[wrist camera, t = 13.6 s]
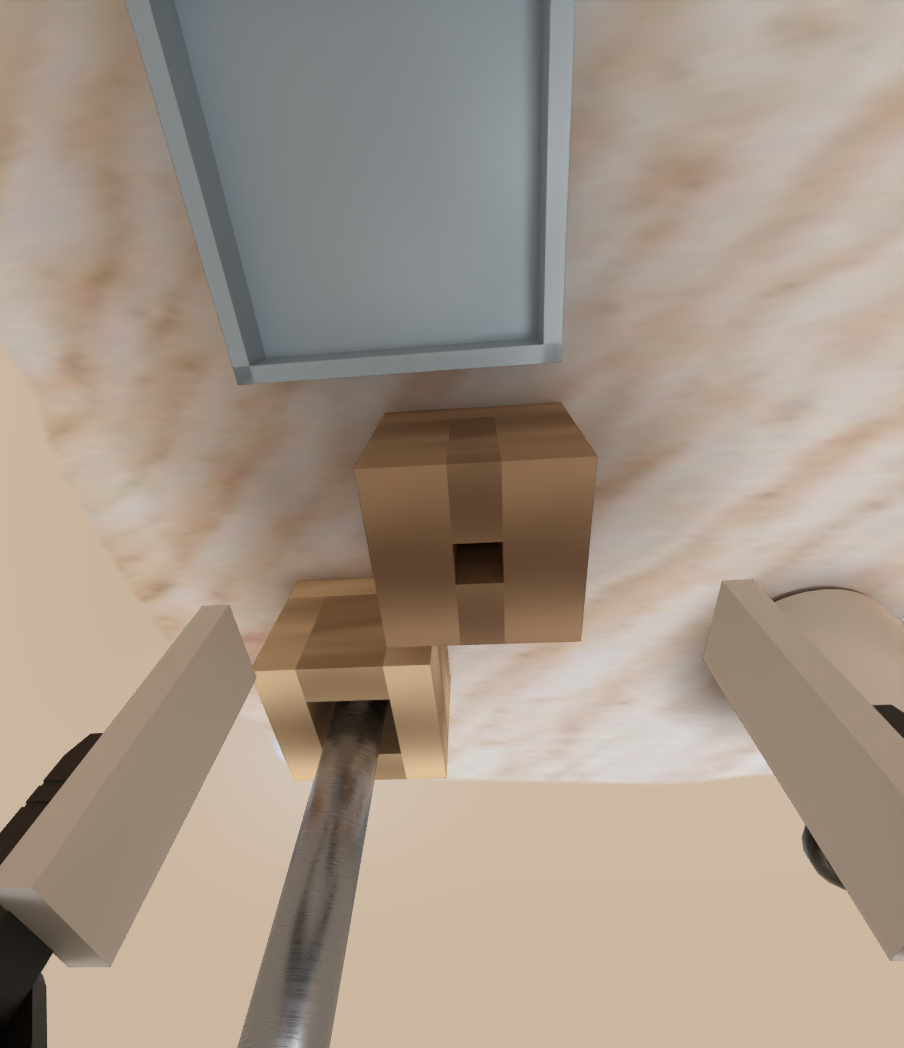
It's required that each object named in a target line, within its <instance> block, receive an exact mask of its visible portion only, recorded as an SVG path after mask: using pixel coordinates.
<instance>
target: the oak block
mask: <svg viewBox="0 0 904 1048" xmlns="http://www.w3.org/2000/svg"><path fill="white" fill-rule="evenodd" d="M253 669H254V672H255V674H256V677H257V678H256V680H255V682H254V684H255V687H256V689H257V691H258V694H259V696H260V699H261V701H262V704H263V706H264V709H265V711H266V714H267V716H268V718H269V721H270V723H271V726H272V728H273V731H274V733H275V736H276V738H277V741H278V743H279V745H280V748H281V750H282V753H283V755H284V758H285V760H286V763H287V765H288V767H289V770H290V772H291V774H292V777H293V780H294V781H314V778H315V774H316V771H317V767H318V764H319V760H320V757H321V753H322V750H323V746H324V743H325V739H326V736H327V732H328V729H329V725H330V722H331V718H332V715H333V711H334V708H335V704H336V701H355V700H386V699H388V703H387V709H386V715H385V721H384V727H383V733H382V739H381V744H380V750H379V756H378V762H377V768H376V774H375V780H382V779H430V778H446V777H447V753H448V729H449V705H450V682H451V675H450V666H449V658H448V649H447V645H446V646H414V647H387V646H386V641H385V635H384V630H383V625H382V619H381V614H380V608H379V603H378V597H377V592H376V587H375V581H374V577H372V578H352V579H332V580H313V581H298V582H297V584H296V586H295V588H294V589H293V591H292V593H291V595H290V597H289V599H288V601H287V602H286V604H285V606H284V608H283V610H282V612H281V614H280V615H279V617H278V619H277V621H276V623H275V625H274V627H273V628H272V630H271V632H270V634H269V636H268V638H267V640H266V641H265V643H264V645H263V647H262V649H261V651H260V653H259V654H258V656H257V658H256V660H255V662H254V664H253Z"/></svg>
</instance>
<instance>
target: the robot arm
mask: <svg viewBox="0 0 904 1048" xmlns="http://www.w3.org/2000/svg"><path fill="white" fill-rule="evenodd" d="M703 661H704V662H705V664H706V666H707V667H708V669H709V670H710V672H711V674H712V675H713V677H714V678H715V680H716V682H717V683H718V685H719V687H720V688H721V690H722V691H723V693H724V695H725V696H726V698H727V699H728V701H729V703H730V704H731V706H732V707H733V709H734V711H735V712H736V714H737V715H738V717H739V719H740V720H741V722H742V723H743V725H744V727H745V728H746V730H747V731H748V733H749V735H750V736H751V738H752V739H753V741H754V743H755V744H756V746H757V748H758V749H759V751H760V752H761V754H762V756H763V757H764V759H765V760H766V762H767V764H768V765H769V767H770V768H771V770H772V772H773V773H774V775H775V776H776V778H777V779H778V781H779V783H780V784H781V786H782V788H783V789H784V791H785V792H786V794H787V796H788V797H789V799H790V800H791V802H792V804H793V805H794V807H795V808H796V810H797V812H798V813H799V815H800V816H801V818H802V820H803V821H804V823H805V825H806V826H807V828H808V829H809V831H810V833H811V834H812V836H813V837H814V839H815V841H816V842H817V844H818V845H819V847H820V849H821V850H822V852H823V853H824V855H825V857H826V858H827V860H828V862H829V863H830V865H831V866H832V868H833V870H834V871H835V873H836V874H837V876H838V878H839V879H840V881H841V882H842V884H843V886H844V887H845V889H846V890H847V892H848V894H849V895H850V897H851V898H852V900H853V902H854V903H855V905H856V906H857V908H858V910H859V911H860V913H861V914H862V916H863V917H864V919H865V921H866V923H867V924H868V926H869V927H870V929H871V931H872V932H873V934H874V935H875V937H876V939H877V940H878V942H879V943H880V945H881V947H882V948H883V950H884V951H885V953H886V955H887V956H888V958H889V959H890V961H904V712H902V711H901V710H899V709H898V708H896V707H895V706H893V705H871V704H870V703H869V702H868V701H867V700H866V699H865V697H864V696H863V695H862V694H861V693H860V692H859V691H858V690H857V689H856V688H855V687H854V686H853V685H852V684H851V683H850V682H849V681H848V680H847V678H846V677H845V676H844V675H843V674H842V673H841V672H840V671H839V670H838V669H837V668H836V667H835V666H834V665H833V664H832V663H831V662H830V661H829V659H828V658H827V657H826V656H825V655H824V654H823V653H822V652H821V651H820V650H819V649H818V648H817V647H816V646H815V645H814V644H813V643H812V642H811V640H810V639H809V638H808V637H807V636H806V635H805V634H804V633H803V632H802V631H801V630H800V629H799V628H798V627H797V626H796V625H795V624H794V623H793V622H792V620H791V619H790V618H789V617H788V616H787V615H786V614H785V613H784V612H783V611H782V610H781V609H780V608H779V607H778V606H777V605H776V604H775V603H774V601H773V600H772V599H771V598H770V597H769V596H768V595H767V594H766V593H765V592H764V591H763V590H762V589H761V588H760V587H759V586H758V585H757V584H756V582H755V581H754V580H753V579H751V580H730V581H722V583H721V587H720V592H719V596H718V600H717V604H716V608H715V612H714V616H713V620H712V624H711V628H710V632H709V636H708V640H707V644H706V648H705V652H704V656H703ZM256 678H257V677H256V674H255V672H254V669H253V666H252V664H251V661H250V658H249V656H248V653H247V650H246V648H245V645H244V643H243V640H242V637H241V635H240V632H239V629H238V627H237V624H236V621H235V619H234V616H233V614H232V611H231V608H230V606H229V605H217V606H202V607H201V608H200V610H199V611H198V612H197V613H196V615H195V616H194V617H193V618H192V620H191V621H190V622H189V624H188V625H187V626H186V627H185V629H184V630H183V631H182V633H181V634H180V635H179V636H178V638H177V639H176V640H175V642H174V643H173V644H172V645H171V647H170V648H169V649H168V651H167V652H166V653H165V654H164V656H163V657H162V658H161V660H160V661H159V662H158V663H157V665H156V666H155V667H154V669H153V670H152V671H151V672H150V674H149V675H148V676H147V678H146V679H145V680H144V682H143V683H142V684H141V685H140V687H139V688H138V689H137V690H136V692H135V693H134V694H133V696H132V697H131V698H130V699H129V701H128V702H127V703H126V705H125V706H124V707H123V709H122V710H121V711H120V712H119V714H118V715H117V716H116V718H115V719H114V720H113V721H112V723H111V724H110V725H109V727H108V728H107V729H106V730H105V732H104V733H98V734H97V733H94V734H90V735H89V736H87V737H86V738H85V739H84V740H82V742H80V743H79V744H77V745H76V746H75V747H74V748H73V749H71V750H70V751H69V752H68V753H67V754H65V755H64V756H63V757H62V759H61V760H60V761H59V762H58V764H57V765H56V766H55V767H54V768H53V770H52V771H51V772H50V773H49V775H48V776H47V777H46V778H45V779H44V783H43V785H42V786H39V787H38V788H37V789H36V790H35V791H34V793H33V794H32V795H31V796H30V797H29V799H28V800H27V801H26V806H25V807H21V808H20V810H19V811H18V812H17V813H16V814H15V816H14V817H13V818H12V819H11V821H10V822H9V823H8V824H7V825H6V827H5V828H4V829H3V830H2V831H1V833H0V1048H47V1010H46V984H45V981H44V978H43V975H42V974H41V971H42V970H43V968H44V966H45V965H46V963H47V961H48V960H49V958H50V956H51V955H52V953H54V954H55V955H56V956H57V957H58V958H59V959H60V960H61V961H62V962H64V963H65V964H66V965H67V966H68V967H111V965H112V963H113V961H114V959H115V957H116V955H117V953H118V951H119V949H120V947H121V945H122V943H123V941H124V939H125V937H126V935H127V933H128V931H129V929H130V927H131V925H132V923H133V921H134V919H135V917H136V915H137V913H138V911H139V909H140V907H141V905H142V903H143V901H144V899H145V897H146V895H147V894H148V892H149V890H150V887H151V885H152V884H153V882H154V880H155V878H156V876H157V873H158V871H159V870H160V868H161V866H162V864H163V862H164V860H165V858H166V856H167V854H168V852H169V850H170V848H171V846H172V844H173V842H174V840H175V838H176V836H177V834H178V832H179V830H180V828H181V826H182V824H183V822H184V820H185V818H186V816H187V814H188V812H189V811H190V809H191V807H192V804H193V803H194V801H195V798H196V797H197V795H198V793H199V791H200V789H201V787H202V785H203V783H204V781H205V779H206V777H207V775H208V773H209V771H210V769H211V767H212V765H213V763H214V761H215V759H216V757H217V755H218V753H219V751H220V749H221V747H222V745H223V743H224V741H225V739H226V737H227V735H228V733H229V731H230V729H231V727H232V725H233V724H234V722H235V719H236V717H237V716H238V714H239V712H240V710H241V708H242V706H243V704H244V702H245V700H246V698H247V696H248V694H249V692H250V690H251V688H252V686H253V684H254V682H255V680H256Z"/></svg>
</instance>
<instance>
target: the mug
mask: <svg viewBox="0 0 904 1048" xmlns="http://www.w3.org/2000/svg"><path fill="white" fill-rule="evenodd" d="M774 603H775V604H776V605H777V606H778V607H779V608H780V609H781V610H782V611H783V612H784V613H785V614H786V615H787V616H788V617H789V618H790V619H791V620H792V622H793V623H794V624H795V625H796V626H797V627H798V628H799V629H800V630H801V631H802V632H803V633H804V634H805V635H806V636H807V637H808V638H809V639H810V640H811V642H812V643H813V644H814V645H815V646H816V647H817V648H818V649H819V650H820V651H821V652H822V653H823V654H824V655H825V656H826V657H827V658H828V659H829V661H830V662H831V663H832V664H833V665H834V666H835V667H836V668H837V669H838V670H839V671H840V672H841V673H842V674H843V675H844V676H845V677H846V678H847V680H848V681H849V682H850V683H851V684H852V685H853V686H854V687H855V688H856V689H857V690H858V691H859V692H860V693H861V694H862V695H863V696H864V697H865V699H866V700H867V701H868V702H869V703H870V704H871V705H893V706H895V707H896V708H898V709H899V710H901V711H902V712H904V623H903V622H901V621H900V620H899V619H898V618H896V617H895V616H894V615H893V614H892V613H890V612H889V611H888V610H887V609H886V608H884V607H883V606H882V605H881V604H879V603H878V602H877V601H875V600H874V599H872V598H871V597H868V596H866V595H863V594H861V593H858V592H853V591H848V590H842V589H823V590H815V591H808V592H803V593H799V594H796V595H792V596H789V597H786V598H783V599H781V600H778V601H776V602H774ZM802 842H803V850H804V852H805V854H806V855H807V857H808V859H809V860H810V862H811V864H812V865H813V866H814V868H815V870H816V871H817V872H818V874H819V875H821V876H822V877H823V878H824V879H825V880H827V881H828V882H829V883H831V884H833V885H836V886H838V887H840V888H842V889H844V890H846V889H845V887H844V886H843V884H842V882H841V881H840V879H839V878H838V876H837V874H836V873H835V871H834V870H833V868H832V866H831V865H830V863H829V862H828V860H827V858H826V857H825V855H824V853H823V852H822V850H821V849H820V847H819V845H818V844H817V842H816V841H815V839H814V837H813V836H812V834H811V833H810V831H809V829H808V828H807V826H806V825H805V828H804V831H803V835H802Z"/></svg>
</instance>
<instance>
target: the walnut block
mask: <svg viewBox="0 0 904 1048" xmlns="http://www.w3.org/2000/svg"><path fill="white" fill-rule="evenodd" d="M596 466H597V455H596V454H595V452H594V451H593V449H592V448H591V446H590V445H589V443H588V442H587V440H586V439H585V437H584V436H583V434H582V433H581V431H580V430H579V428H578V427H577V426H576V424H575V423H574V421H573V420H572V418H571V417H570V415H569V414H568V412H567V411H566V409H565V408H564V406H563V405H562V403H561V402H559V403H542V404H526V405H509V406H492V407H476V408H459V409H443V410H426V411H409V412H393V413H385V414H384V416H383V418H382V419H381V421H380V423H379V425H378V427H377V428H376V430H375V432H374V434H373V436H372V437H371V439H370V441H369V443H368V445H367V447H366V448H365V450H364V452H363V454H362V456H361V457H360V459H359V461H358V463H357V465H356V466H355V468H354V473H355V478H356V483H357V489H358V494H359V500H360V505H361V511H362V516H363V521H364V527H365V532H366V538H367V543H368V549H369V554H370V559H371V565H372V570H373V576H374V581H375V587H376V592H377V597H378V603H379V608H380V614H381V619H382V625H383V630H384V635H385V641H386V646H387V647H414V646H446V645H479V644H511V643H544V642H576V641H581V635H582V624H583V612H584V601H585V590H586V579H587V567H588V556H589V545H590V534H591V522H592V511H593V500H594V489H595V477H596Z"/></svg>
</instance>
